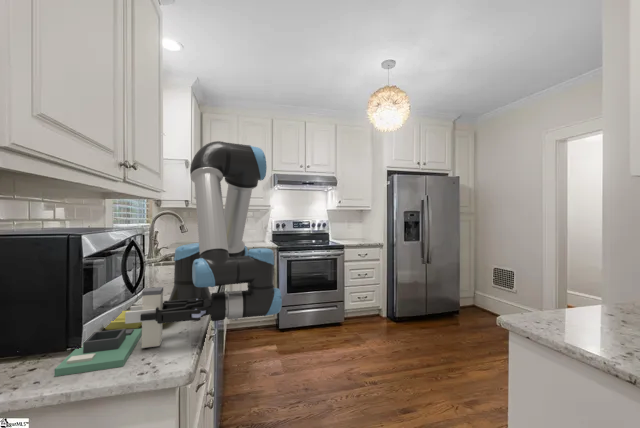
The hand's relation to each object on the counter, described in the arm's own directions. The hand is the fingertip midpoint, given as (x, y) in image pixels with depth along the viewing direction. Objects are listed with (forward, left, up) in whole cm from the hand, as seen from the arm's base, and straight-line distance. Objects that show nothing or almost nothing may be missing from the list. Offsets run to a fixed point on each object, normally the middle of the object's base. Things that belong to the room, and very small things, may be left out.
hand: (128, 314), depth 73 cm
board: (0, -5, -9) cm, 10 cm away
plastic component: (-18, -1, -9) cm, 20 cm away
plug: (0, +5, -8) cm, 10 cm away
